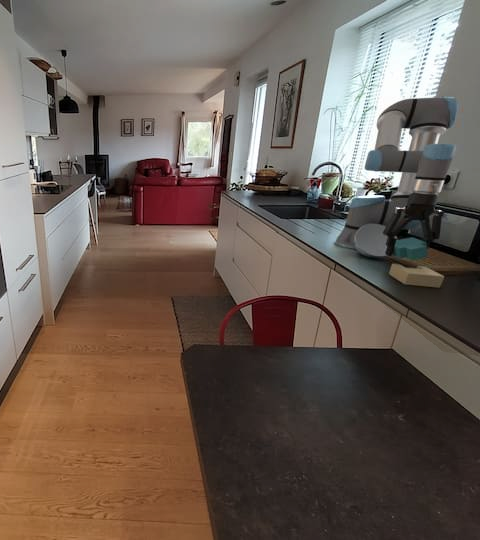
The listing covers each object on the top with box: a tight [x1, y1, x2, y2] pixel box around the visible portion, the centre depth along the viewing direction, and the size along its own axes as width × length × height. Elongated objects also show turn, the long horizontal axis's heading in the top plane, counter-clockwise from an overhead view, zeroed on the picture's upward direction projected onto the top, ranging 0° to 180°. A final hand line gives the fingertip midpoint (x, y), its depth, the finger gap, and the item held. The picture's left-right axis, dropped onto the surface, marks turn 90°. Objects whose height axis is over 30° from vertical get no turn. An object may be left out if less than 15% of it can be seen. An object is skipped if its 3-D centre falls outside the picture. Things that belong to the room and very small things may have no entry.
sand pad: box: [388, 263, 445, 289], centre depth 110 cm, size 10×10×4 cm
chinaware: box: [354, 224, 398, 259], centre depth 136 cm, size 15×15×8 cm
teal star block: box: [391, 236, 428, 261], centre depth 115 cm, size 11×8×4 cm
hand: (403, 256), depth 117 cm, fingers closed on teal star block, 9 cm apart
